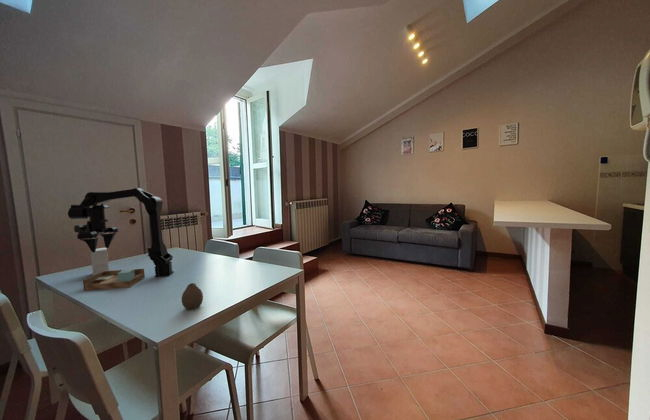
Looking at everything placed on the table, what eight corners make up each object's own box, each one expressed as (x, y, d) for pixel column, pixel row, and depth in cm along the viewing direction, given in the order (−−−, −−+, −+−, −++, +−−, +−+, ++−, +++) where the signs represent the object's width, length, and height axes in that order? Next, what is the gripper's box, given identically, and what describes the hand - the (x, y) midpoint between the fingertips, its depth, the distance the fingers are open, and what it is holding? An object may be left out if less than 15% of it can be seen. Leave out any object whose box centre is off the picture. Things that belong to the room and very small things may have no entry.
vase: (187, 304, 98) (185, 281, 97) (206, 303, 99) (204, 280, 98) (178, 312, 91) (177, 288, 91) (199, 311, 92) (197, 287, 91)
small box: (109, 274, 135) (106, 249, 134) (92, 277, 131) (90, 251, 130) (109, 270, 141) (107, 247, 140) (93, 273, 137) (91, 248, 136)
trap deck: (144, 277, 129) (144, 268, 129) (129, 287, 116) (128, 277, 116) (103, 280, 126) (103, 271, 126) (83, 290, 113) (82, 280, 113)
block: (134, 277, 121) (134, 269, 121) (129, 281, 117) (128, 272, 117) (124, 278, 121) (123, 270, 120) (118, 281, 116) (117, 273, 116)
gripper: (93, 216, 134) (96, 246, 135) (61, 221, 115) (65, 255, 117) (117, 215, 135) (119, 245, 136) (89, 220, 117) (93, 254, 118)
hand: (100, 250), depth 127 cm, fingers open, 9 cm apart
